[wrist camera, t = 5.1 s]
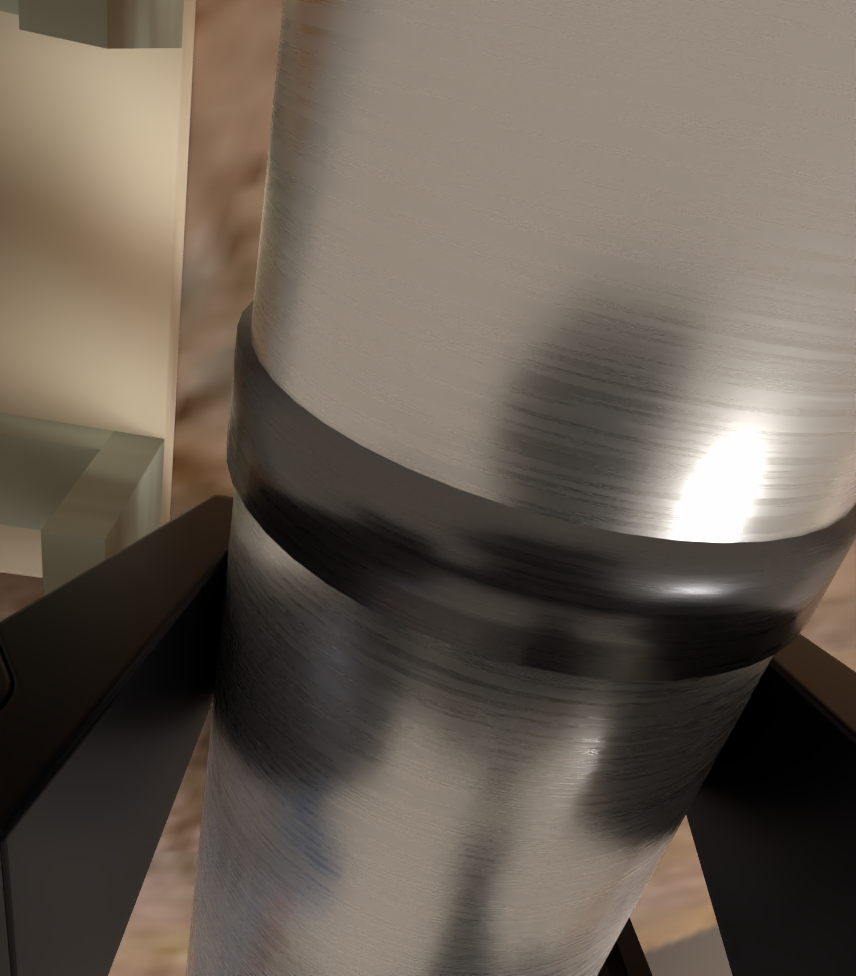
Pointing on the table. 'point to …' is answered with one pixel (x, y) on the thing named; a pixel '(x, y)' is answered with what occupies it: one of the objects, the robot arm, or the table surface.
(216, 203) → the table surface
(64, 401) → the collar cradle
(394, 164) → the tube
